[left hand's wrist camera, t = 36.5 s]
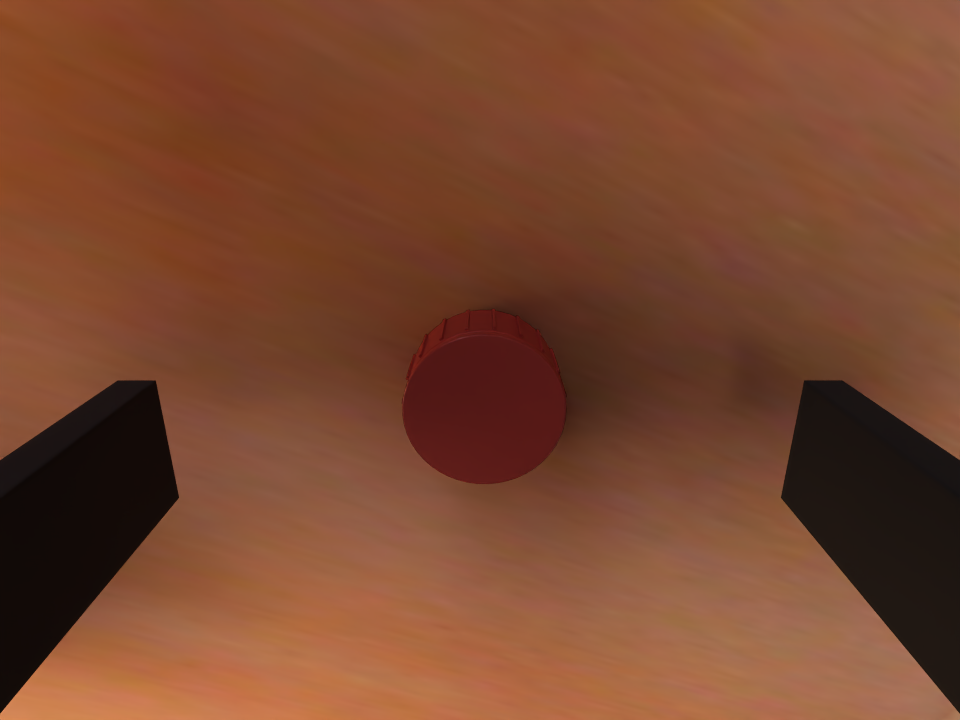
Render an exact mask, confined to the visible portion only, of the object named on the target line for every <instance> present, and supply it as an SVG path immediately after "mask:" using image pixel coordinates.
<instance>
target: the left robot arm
mask: <svg viewBox="0 0 960 720" xmlns="http://www.w3.org/2000/svg"><path fill="white" fill-rule="evenodd" d="M178 498H179V495H178V490H177V485H176V480H175V475H174V470H173V465H172V460H171V455H170V450H169V445H168V440H167V435H166V430H165V425H164V420H163V415H162V410H161V405H160V400H159V395H158V390H157V385H156V381H116V382H115V383H113V384H112V385H110V386H109V387H108V388H106V389H105V390H103V391H102V392H100V393H99V394H97V395H96V396H94V397H93V398H91V399H90V400H88V401H87V402H85V403H84V404H83V405H81V406H80V407H78V408H77V409H75V410H74V411H72V412H71V413H69V414H68V415H66V416H65V417H63V418H62V419H60V420H59V421H57V422H56V423H55V424H53V425H52V426H50V427H49V428H47V429H46V430H44V431H43V432H41V433H40V434H38V435H37V436H35V437H34V438H32V439H31V440H30V441H28V442H27V443H25V444H24V445H22V446H21V447H19V448H18V449H16V450H15V451H13V452H12V453H10V454H9V455H7V456H6V457H4V458H3V459H2V460H0V713H1V712H2V711H3V710H4V708H5V707H6V706H7V705H8V703H9V702H10V701H11V700H12V699H13V697H14V696H15V695H16V694H17V693H18V691H19V690H20V689H21V688H22V687H23V685H24V684H25V683H26V682H27V681H28V679H29V678H30V677H31V676H32V675H33V673H34V672H35V671H36V670H37V668H38V667H39V666H40V665H41V664H42V662H43V661H44V660H45V659H46V658H47V656H48V655H49V654H50V653H51V652H52V650H53V649H54V648H55V647H56V646H57V644H58V643H59V642H60V641H61V640H62V638H63V637H64V636H65V635H66V633H67V632H68V631H69V630H70V629H71V627H72V626H73V625H74V624H75V623H76V621H77V620H78V619H79V618H80V617H81V615H82V614H83V613H84V612H85V611H86V609H87V608H88V607H89V606H90V605H91V603H92V602H93V601H94V600H95V598H96V597H97V596H98V595H99V594H100V592H101V591H102V590H103V589H104V588H105V586H106V585H107V584H108V583H109V582H110V580H111V579H112V578H113V577H114V576H115V574H116V573H117V572H118V571H119V570H120V568H121V567H122V566H123V565H124V564H125V562H126V561H127V560H128V559H129V557H130V556H131V555H132V554H133V553H134V551H135V550H136V549H137V548H138V547H139V545H140V544H141V543H142V542H143V541H144V539H145V538H146V537H147V536H148V535H149V533H150V532H151V531H152V530H153V529H154V527H155V526H156V525H157V524H158V522H159V521H160V520H161V519H162V518H163V516H164V515H165V514H166V513H167V512H168V510H169V509H170V508H171V507H172V506H173V504H174V503H175V502H176V501H177V500H178ZM781 498H782V500H783V501H784V502H785V503H786V504H787V506H788V507H789V508H790V509H791V510H792V512H793V513H794V514H795V515H796V516H797V518H798V519H799V520H800V521H801V522H802V524H803V525H804V526H805V527H806V529H807V530H808V531H809V532H810V533H811V535H812V536H813V537H814V538H815V539H816V541H817V542H818V543H819V544H820V545H821V547H822V548H823V549H824V550H825V551H826V553H827V554H828V555H829V556H830V557H831V559H832V560H833V561H834V562H835V564H836V565H837V566H838V567H839V568H840V570H841V571H842V572H843V573H844V574H845V576H846V577H847V578H848V579H849V580H850V582H851V583H852V584H853V585H854V586H855V588H856V589H857V590H858V591H859V592H860V594H861V595H862V596H863V597H864V598H865V600H866V601H867V602H868V603H869V605H870V606H871V607H872V608H873V609H874V611H875V612H876V613H877V614H878V615H879V617H880V618H881V619H882V620H883V621H884V623H885V624H886V625H887V626H888V627H889V629H890V630H891V631H892V632H893V633H894V635H895V636H896V637H897V638H898V640H899V641H900V642H901V643H902V644H903V646H904V647H905V648H906V649H907V650H908V652H909V653H910V654H911V655H912V656H913V658H914V659H915V660H916V661H917V662H918V664H919V665H920V666H921V667H922V668H923V670H924V671H925V672H926V673H927V675H928V676H929V677H930V678H931V679H932V681H933V682H934V683H935V684H936V685H937V687H938V688H939V689H940V690H941V691H942V693H943V694H944V695H945V696H946V697H947V699H948V700H949V701H950V702H951V703H952V705H953V706H954V707H955V708H956V710H957V711H958V712H959V713H960V460H958V459H957V458H956V457H954V456H953V455H951V454H950V453H948V452H947V451H945V450H944V449H942V448H941V447H939V446H938V445H936V444H935V443H933V442H932V441H930V440H929V439H928V438H926V437H925V436H923V435H922V434H920V433H919V432H917V431H916V430H914V429H913V428H911V427H910V426H908V425H907V424H905V423H904V422H903V421H901V420H900V419H898V418H897V417H895V416H894V415H892V414H891V413H889V412H888V411H886V410H885V409H883V408H882V407H880V406H879V405H877V404H876V403H875V402H873V401H872V400H870V399H869V398H867V397H866V396H864V395H863V394H861V393H860V392H858V391H857V390H855V389H854V388H852V387H851V386H850V385H848V384H847V383H845V382H844V381H804V385H803V390H802V395H801V400H800V405H799V410H798V415H797V420H796V425H795V430H794V435H793V440H792V445H791V450H790V455H789V460H788V465H787V470H786V475H785V480H784V485H783V490H782V495H781Z"/></svg>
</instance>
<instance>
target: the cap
mask: <svg viewBox="0 0 960 720" xmlns="http://www.w3.org/2000/svg"><path fill="white" fill-rule="evenodd" d="M559 373H560V370H559V367H558V364H557V361H556V358H555V355H554V352H553V350H552V348H551V349H549V347H548V345H547V343H546V342H545V340H544V339H543V338H542V336H541V335H540V331H539V330H538V329H537V330H535V329H534V328H533V327H531V326H530V325H529V324H528V323H526V322H524V321H523V320H521V319H520V317H519V316H517V315H516V317H515V316H513V315H510V314H507V313H503V312H499V311H495V309H492V310H477V311H470V310H466V312H465V313H461V314H458V315H456V316H453V317H451V318H449V319H447V320H446V318H445V319H443V322H442V323H441V324H440V325H438V326H437V327H436V328H434V329H433V330H432V331H431V332H430V333H429V334H428V335H427V334H426V335H425V336H424V339H423V342H422V344H421V346H420V347H419V349H418V351H417V354H416V355H415V354H414V355H413V358H412V361H411V364H410V367H409V370H408V373H407V377H406V379H407V380H408V382H407V385H406V388H405V392H404V396H403V399H402V415H403V421H404V426H405V429H406V433H407V435H408V437H409V440H410V442H411V444H412V445H413V447H414V448H415V450H416V451H417V452H418V454H419V455H420V456H421V457H422V458H423V459H424V460H425V461H426V462H427V463H428V464H429V465H430V466H432V467H433V468H435V469H436V470H437V471H439V472H441V473H443V474H445V475H446V476H449V477H451V478H454V479H456V480H460V481H464V482H468V483H475V484H493V483H500V482H505V481H509V480H512V479H515V478H518V477H520V476H522V475H524V474H526V473H528V472H529V471H531V470H533V469H534V468H536V467H537V466H538V465H539V464H540V463H542V462H543V461H544V460H545V459H546V458H547V457H548V456H549V454H550V453H551V452H552V450H553V449H554V448H555V446H556V444H557V443H558V441H559V439H560V437H561V434H562V431H563V429H564V424H565V420H566V399H565V397H566V392H565V389H564V386H563V383H562V380H561V377H560V374H559Z"/></svg>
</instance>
